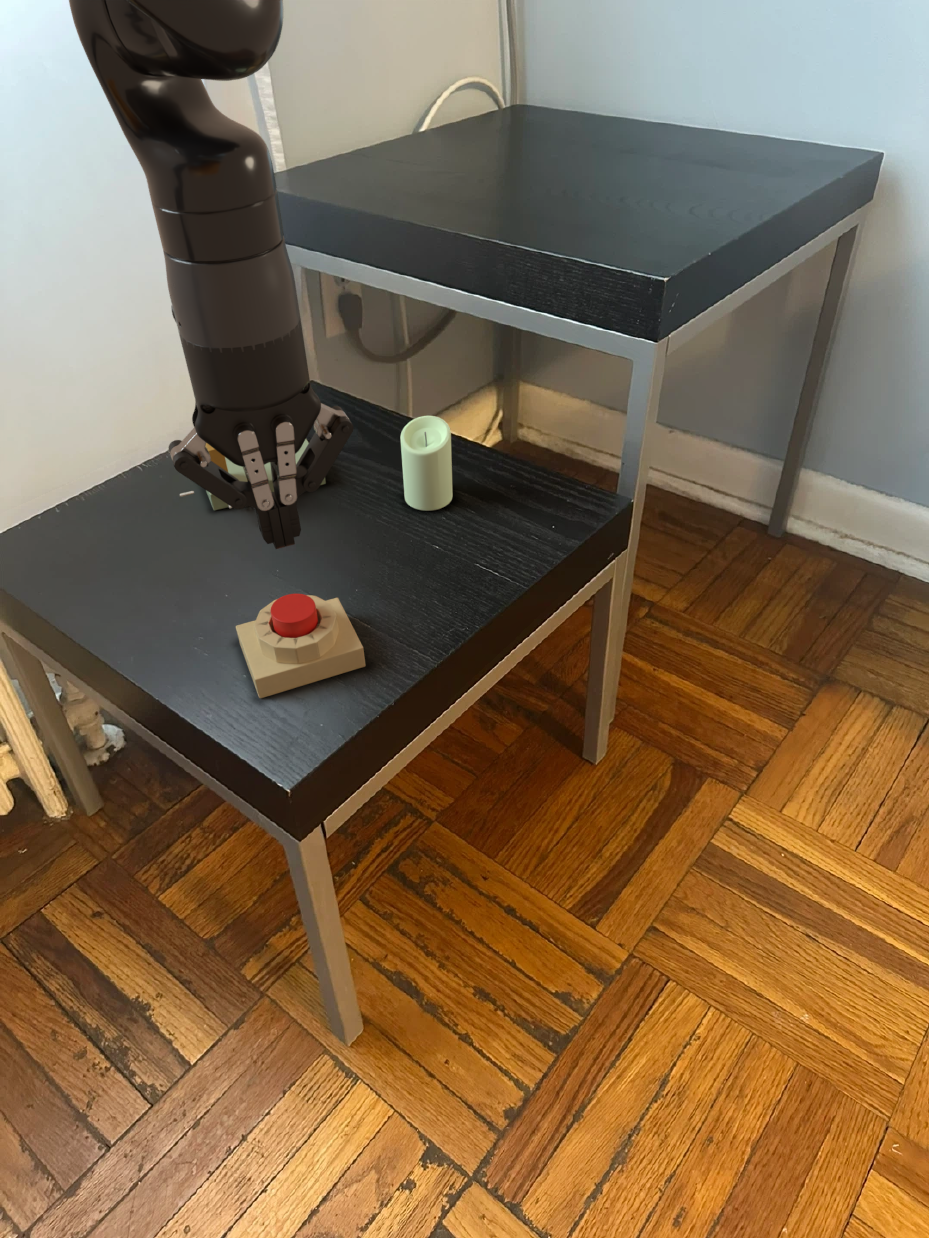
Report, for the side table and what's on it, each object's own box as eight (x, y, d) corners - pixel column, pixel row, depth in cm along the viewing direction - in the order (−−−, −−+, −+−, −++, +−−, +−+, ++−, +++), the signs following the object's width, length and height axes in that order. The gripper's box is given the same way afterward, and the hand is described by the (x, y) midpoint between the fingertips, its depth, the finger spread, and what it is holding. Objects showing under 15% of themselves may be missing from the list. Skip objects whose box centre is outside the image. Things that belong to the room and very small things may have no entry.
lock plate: (192, 535, 87) (187, 517, 86) (169, 469, 97) (165, 452, 95) (335, 500, 92) (332, 482, 90) (300, 440, 101) (298, 423, 99)
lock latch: (233, 495, 89) (222, 445, 85) (219, 498, 89) (207, 448, 85) (224, 473, 92) (213, 424, 88) (211, 476, 92) (199, 427, 88)
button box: (259, 699, 71) (250, 663, 68) (240, 644, 75) (231, 609, 73) (365, 666, 73) (361, 631, 71) (340, 615, 78) (335, 580, 75)
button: (280, 643, 70) (276, 627, 69) (269, 616, 73) (265, 600, 72) (323, 631, 71) (320, 614, 70) (311, 604, 74) (308, 588, 73)
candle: (444, 514, 89) (442, 444, 84) (398, 507, 90) (392, 437, 85) (458, 488, 93) (456, 418, 88) (413, 481, 94) (409, 412, 89)
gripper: (137, 362, 50) (204, 594, 62) (358, 320, 54) (382, 546, 65) (121, 314, 55) (185, 536, 67) (324, 278, 59) (351, 495, 71)
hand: (282, 540), depth 66 cm, fingers closed
